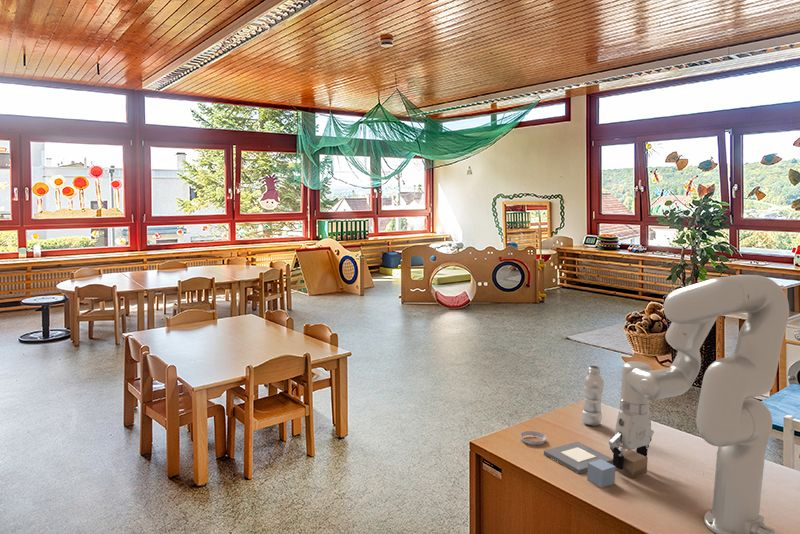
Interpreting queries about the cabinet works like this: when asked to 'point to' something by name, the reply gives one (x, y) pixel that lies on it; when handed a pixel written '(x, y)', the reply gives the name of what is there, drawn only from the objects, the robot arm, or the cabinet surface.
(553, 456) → the building board
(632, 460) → the walnut block
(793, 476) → the cabinet surface
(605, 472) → the slate blue cube
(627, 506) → the cabinet surface
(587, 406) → the plastic bottle
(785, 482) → the cabinet surface
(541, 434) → the lavender ring
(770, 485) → the cabinet surface
